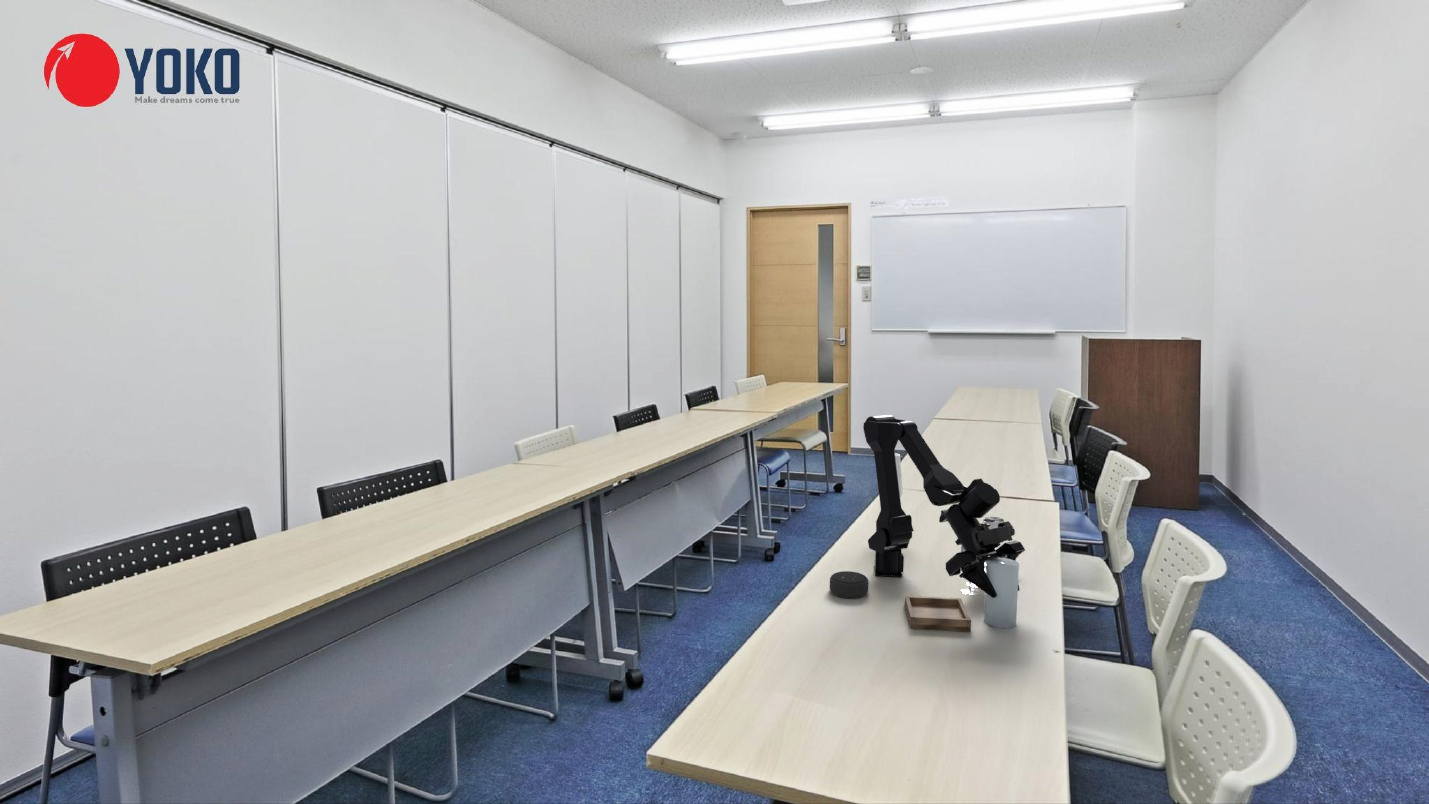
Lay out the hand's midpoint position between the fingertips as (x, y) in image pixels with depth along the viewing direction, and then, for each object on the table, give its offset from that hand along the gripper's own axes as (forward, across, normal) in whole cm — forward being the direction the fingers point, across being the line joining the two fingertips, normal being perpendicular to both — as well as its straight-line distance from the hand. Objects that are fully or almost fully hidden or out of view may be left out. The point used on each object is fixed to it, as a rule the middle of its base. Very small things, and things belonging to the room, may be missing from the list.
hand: (1006, 594), depth 161 cm
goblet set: (-11, +18, +21) cm, 30 cm away
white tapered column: (-38, +22, +47) cm, 64 cm away
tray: (-2, -10, +11) cm, 15 cm away
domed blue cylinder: (+4, 0, +6) cm, 7 cm away
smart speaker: (-17, -17, +26) cm, 36 cm away
